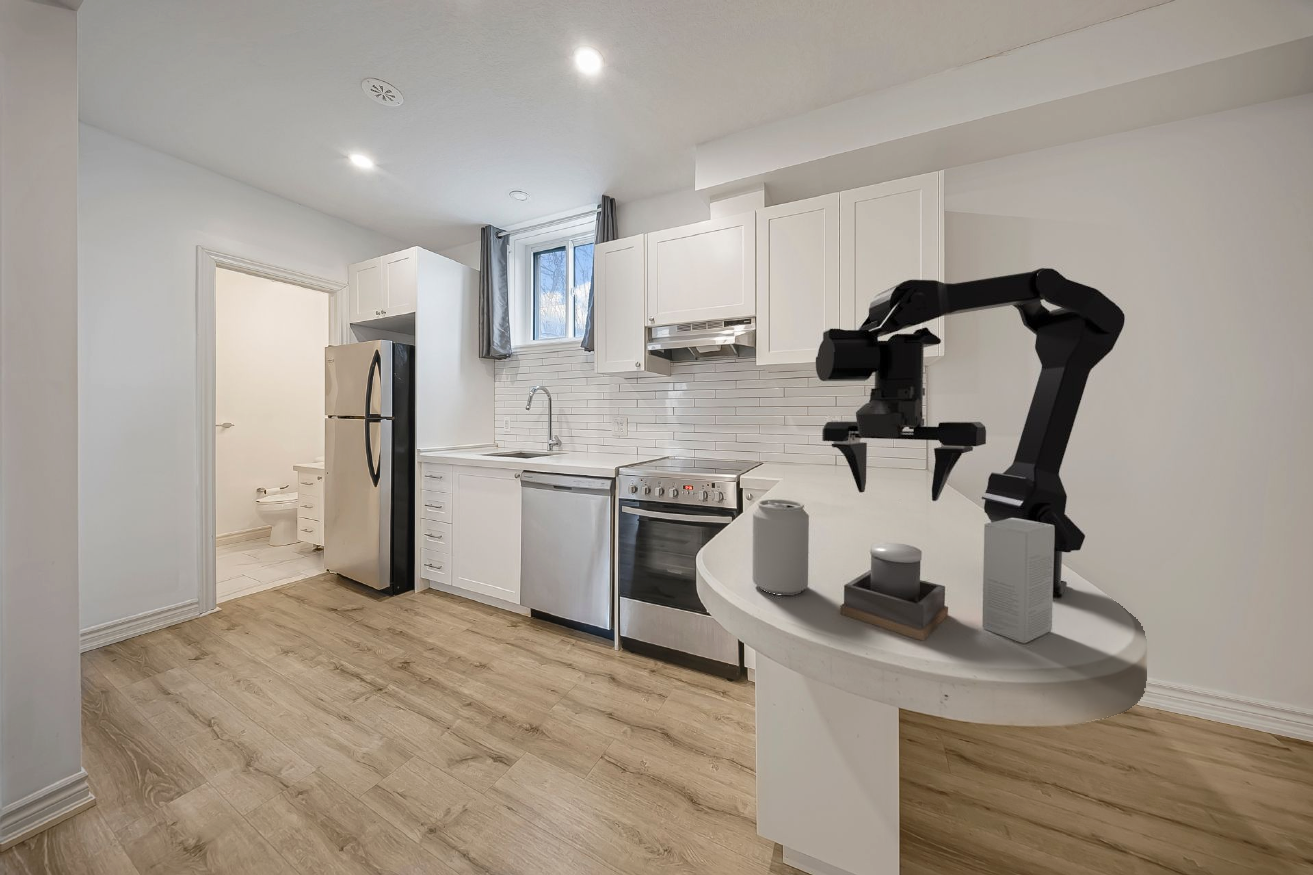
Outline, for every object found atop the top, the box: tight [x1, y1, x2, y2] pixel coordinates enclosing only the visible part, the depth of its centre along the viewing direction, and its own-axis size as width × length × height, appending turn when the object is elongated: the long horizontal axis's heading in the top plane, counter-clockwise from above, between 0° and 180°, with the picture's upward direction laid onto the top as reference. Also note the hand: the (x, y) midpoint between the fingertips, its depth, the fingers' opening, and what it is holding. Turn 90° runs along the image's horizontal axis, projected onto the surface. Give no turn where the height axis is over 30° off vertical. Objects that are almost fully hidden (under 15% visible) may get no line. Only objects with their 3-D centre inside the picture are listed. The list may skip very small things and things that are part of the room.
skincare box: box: [981, 518, 1055, 644], centre depth 49 cm, size 6×4×12 cm
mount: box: [839, 569, 949, 642], centre depth 54 cm, size 9×9×4 cm
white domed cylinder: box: [869, 541, 923, 604], centre depth 54 cm, size 5×5×7 cm
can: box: [751, 498, 810, 596], centre depth 62 cm, size 8×8×12 cm
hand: (896, 496), depth 61 cm, fingers open, 9 cm apart
